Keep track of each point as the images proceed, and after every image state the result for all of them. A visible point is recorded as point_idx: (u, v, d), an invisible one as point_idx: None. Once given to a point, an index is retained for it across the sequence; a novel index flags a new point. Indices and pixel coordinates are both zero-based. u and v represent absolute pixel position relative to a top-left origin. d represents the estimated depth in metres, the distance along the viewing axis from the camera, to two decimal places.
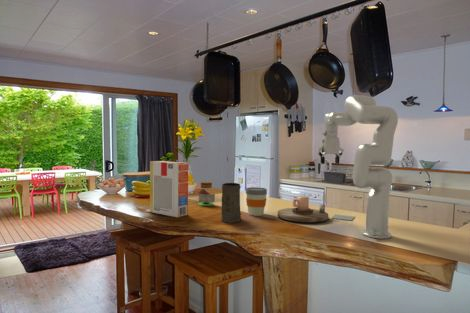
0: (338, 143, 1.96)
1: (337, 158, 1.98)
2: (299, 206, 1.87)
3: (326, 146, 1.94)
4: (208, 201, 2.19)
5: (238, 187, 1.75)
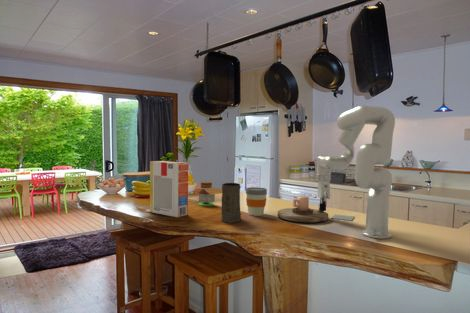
0: None
1: None
2: (300, 206, 1.87)
3: (329, 191, 1.83)
4: (208, 201, 2.19)
5: (238, 187, 1.75)
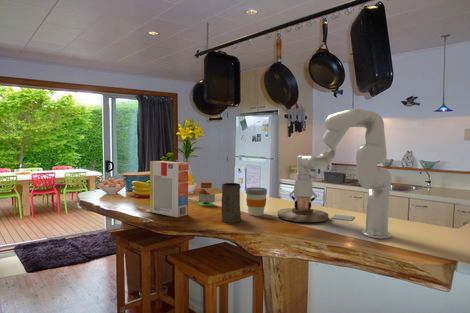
0: None
1: None
2: None
3: None
4: (208, 201, 2.19)
5: (238, 187, 1.75)
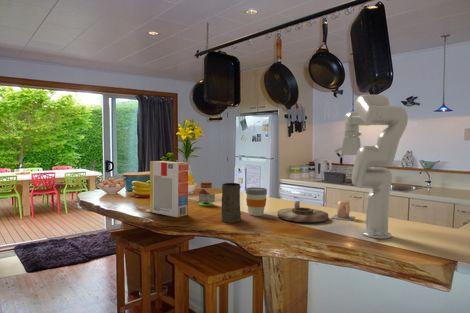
0: None
1: None
2: None
3: None
4: (208, 201, 2.19)
5: (238, 187, 1.75)
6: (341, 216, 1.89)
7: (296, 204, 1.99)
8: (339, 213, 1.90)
